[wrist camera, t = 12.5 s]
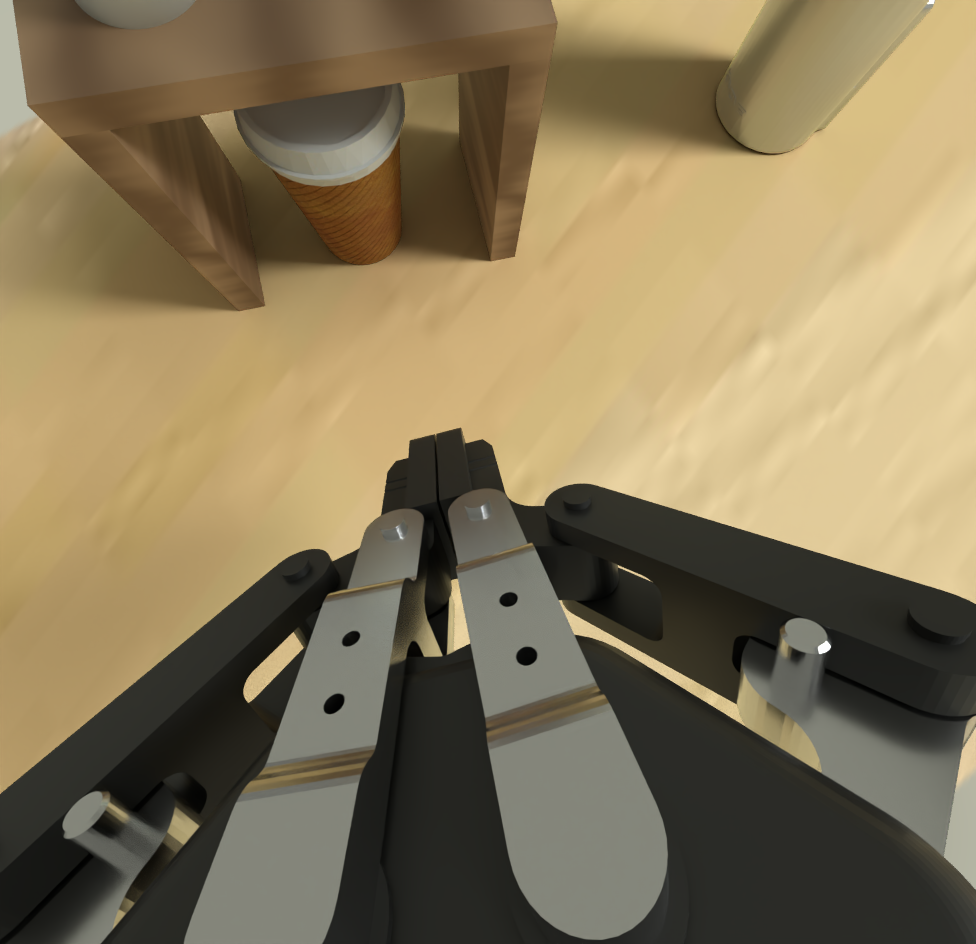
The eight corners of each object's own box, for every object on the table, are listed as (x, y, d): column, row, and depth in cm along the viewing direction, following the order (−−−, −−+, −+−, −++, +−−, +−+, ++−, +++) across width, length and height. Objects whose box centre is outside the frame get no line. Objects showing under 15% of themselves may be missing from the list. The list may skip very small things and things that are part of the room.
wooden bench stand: (482, 136, 38) (497, -180, 21) (514, 256, 37) (557, 22, 20) (214, 183, 36) (-4, -121, 19) (238, 310, 35) (27, 105, 18)
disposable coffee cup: (277, 243, 36) (184, 100, 24) (347, 153, 37) (291, -25, 25) (378, 306, 35) (335, 194, 24) (445, 214, 37) (435, 63, 25)
